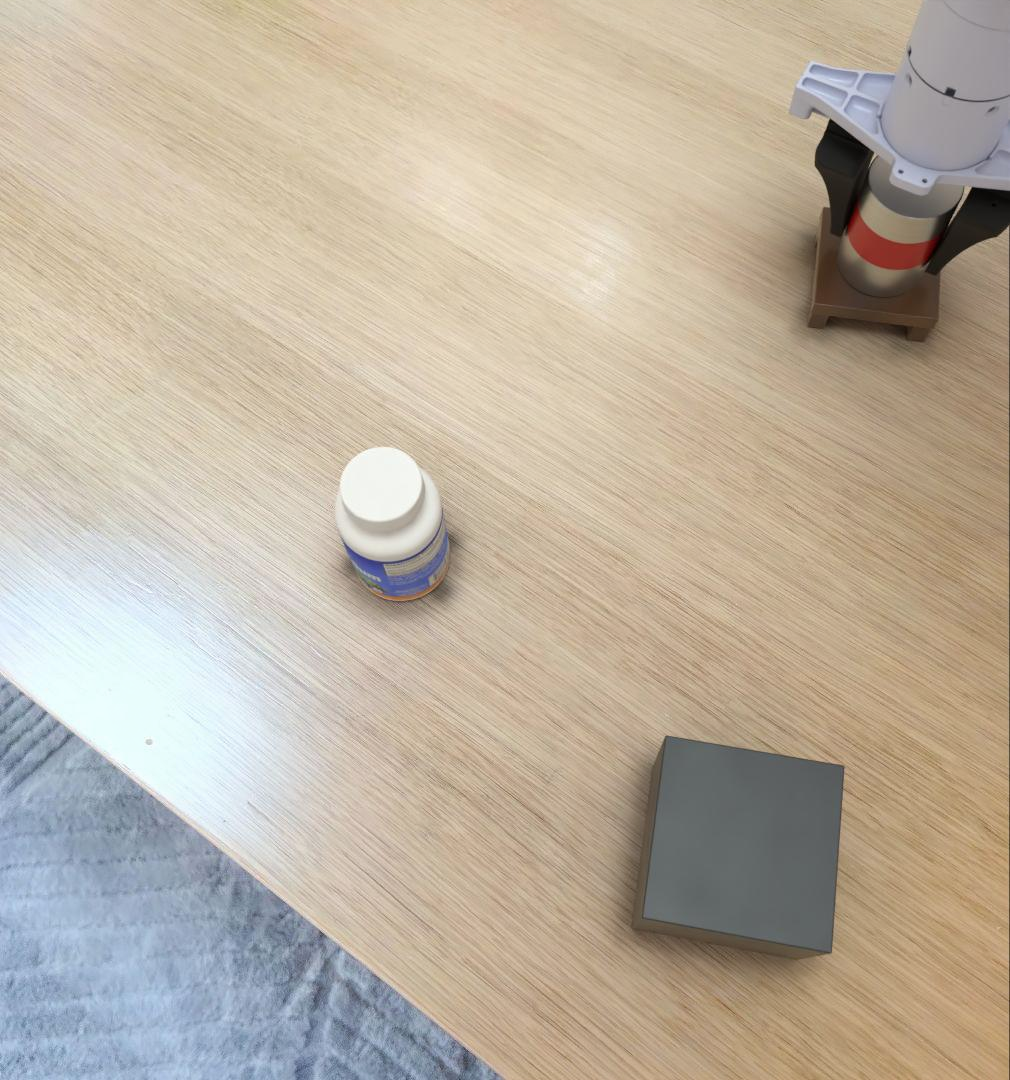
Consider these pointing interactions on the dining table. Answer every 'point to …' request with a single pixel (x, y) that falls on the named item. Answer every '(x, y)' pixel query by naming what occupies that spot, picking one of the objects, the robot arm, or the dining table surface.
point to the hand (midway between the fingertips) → (888, 241)
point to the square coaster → (741, 849)
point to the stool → (848, 302)
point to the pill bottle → (392, 524)
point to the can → (893, 233)
